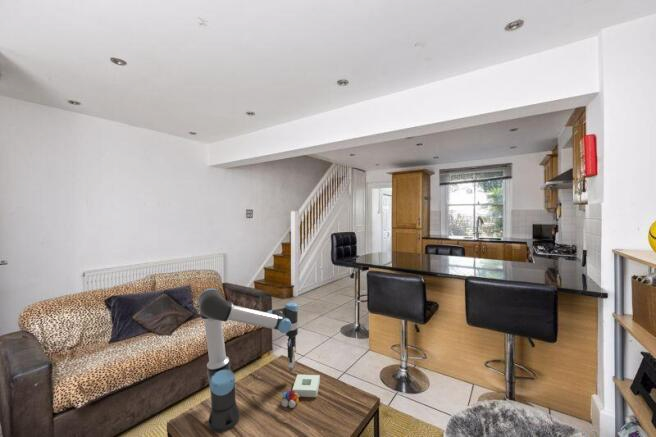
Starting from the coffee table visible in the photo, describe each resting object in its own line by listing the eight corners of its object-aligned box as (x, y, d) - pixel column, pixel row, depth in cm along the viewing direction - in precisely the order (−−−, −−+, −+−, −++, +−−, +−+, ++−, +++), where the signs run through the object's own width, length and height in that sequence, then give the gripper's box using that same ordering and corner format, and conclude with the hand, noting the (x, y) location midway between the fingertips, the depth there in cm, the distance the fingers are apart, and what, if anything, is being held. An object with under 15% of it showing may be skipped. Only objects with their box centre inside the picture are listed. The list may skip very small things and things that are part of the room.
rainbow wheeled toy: (296, 410, 147) (295, 396, 147) (279, 407, 149) (278, 394, 149) (301, 399, 155) (300, 386, 155) (284, 397, 157) (284, 384, 157)
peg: (288, 371, 171) (287, 349, 170) (289, 367, 175) (289, 345, 174) (294, 371, 170) (294, 349, 170) (295, 367, 174) (295, 346, 174)
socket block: (292, 396, 158) (292, 389, 158) (297, 380, 172) (297, 374, 171) (316, 397, 156) (316, 390, 156) (319, 381, 170) (319, 375, 170)
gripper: (294, 334, 163) (294, 373, 163) (300, 322, 179) (300, 357, 180) (282, 334, 163) (282, 372, 164) (289, 322, 180) (289, 357, 181)
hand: (291, 364), depth 172 cm, fingers closed on peg, 4 cm apart
